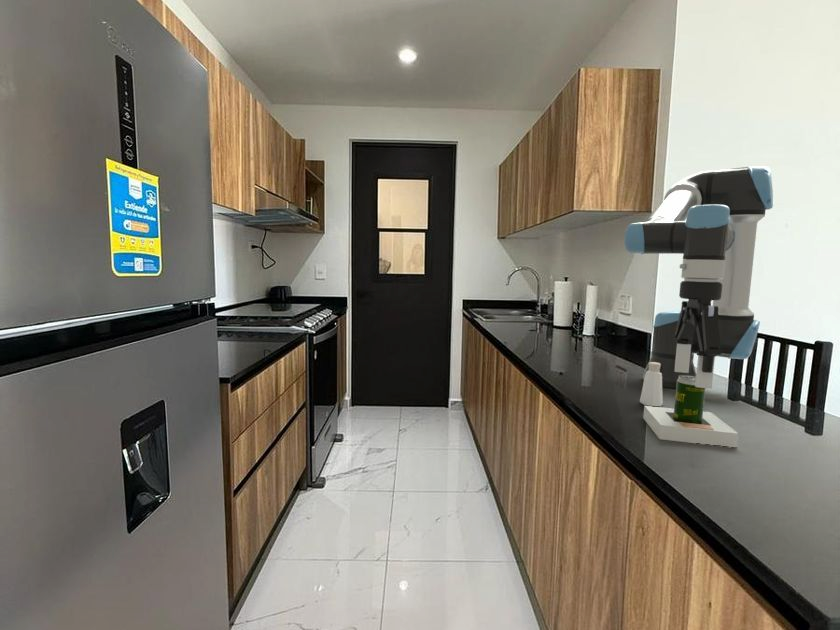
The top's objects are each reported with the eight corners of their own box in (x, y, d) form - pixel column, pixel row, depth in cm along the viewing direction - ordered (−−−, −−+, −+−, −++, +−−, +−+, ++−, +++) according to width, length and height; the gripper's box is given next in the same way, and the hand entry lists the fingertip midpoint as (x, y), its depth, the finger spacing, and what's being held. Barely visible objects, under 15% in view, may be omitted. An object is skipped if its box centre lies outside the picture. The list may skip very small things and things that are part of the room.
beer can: (691, 428, 99) (696, 375, 98) (706, 437, 94) (712, 381, 93) (667, 426, 99) (672, 374, 98) (680, 435, 94) (686, 380, 93)
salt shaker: (663, 408, 114) (668, 365, 113) (640, 405, 116) (644, 363, 115) (661, 402, 119) (664, 362, 118) (638, 399, 121) (642, 359, 120)
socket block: (643, 418, 105) (644, 404, 105) (709, 425, 102) (711, 411, 101) (659, 439, 92) (660, 424, 91) (736, 448, 88) (738, 432, 88)
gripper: (664, 278, 106) (656, 365, 109) (703, 281, 82) (692, 393, 85) (699, 279, 105) (691, 368, 107) (749, 283, 81) (737, 397, 83)
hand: (691, 379), depth 96 cm, fingers open, 13 cm apart
